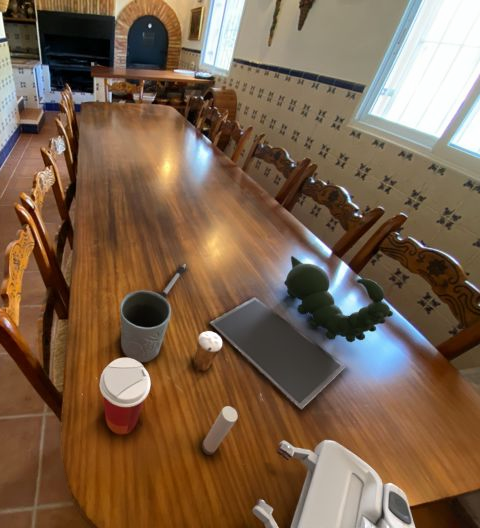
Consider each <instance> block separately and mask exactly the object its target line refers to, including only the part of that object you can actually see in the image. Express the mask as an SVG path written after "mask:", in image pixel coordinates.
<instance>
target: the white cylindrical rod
mask: <svg viewBox="0 0 480 528" xmlns="http://www.w3.org/2000/svg"><path fill="white" fill-rule="evenodd" d="M237 420H238V412H237V410H236V409H235V408H234V407H233V406H229V405H228V406H224V407H223V408H222V409H221V411H220V412H219V414H218V416H217V417H216V419H215V421H214V423H213V425H212V426H211V428H210V429H209V431H208V433H207V434H206V437H205V438H204V440H203V442H202V443H201V449H202V451H203V452H204V454H206V455H208V456H211V455H213V454H215V452H216V451H217V450H218V448H219V446H220V445H221V443H222V442H223V440H224V439H225V438H226V436H227V435H228V434H229V432H230V431H231V429H232V427H233V426H234V425H235V423H236V422H237Z"/></svg>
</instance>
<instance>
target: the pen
mask: <svg viewBox="0 0 480 528" xmlns="http://www.w3.org/2000/svg"><path fill="white" fill-rule="evenodd" d="M186 265H187V264H186V263H183V264H182V265H181V266H180V268H179V269H178V270H177V272H176V273H175V274H174V276H173V277H172V278H171V280H170V282H169V283H168V284H167V286H165V288H164V289H163V290H162V292H161V294H160V295H161V296H162V297H164V298H165V297H167V295H168V294H169V292H170V290H171V289H172V288H173V286H175V285H174V284H176V282H177V281H178V279H179V277H180V276H181V275H182V273H183V272H184V270H186V268H187V266H186Z"/></svg>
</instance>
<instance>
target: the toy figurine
mask: <svg viewBox="0 0 480 528" xmlns="http://www.w3.org/2000/svg"><path fill="white" fill-rule="evenodd" d="M290 262H291V270H289V272H288V273H287V276H286V278H285V280H284V282H283V284H284V285H285V286H286V289H287V290H286V293H287V295H288V296H289V297H290V298H294V299H295V298H296V299H298V300H299V301H301V304H299V305H298V306H297V308H296V309H297V312H298V313H299V314H300V315H307V314H310V315H311V317H312V320H310V321H309V324H308V325H309V327H310V328H312V329H315V330H316V329H318V328H319V327H320V328H321V329H326V331H325V333H324V336H325V338H326V339H327V340H329V341H332V340H335V339H336V337H337V336H340V337H342V338H345V340H346V342H348V343H353V342H355V341H356V340H358V341H364V339H366V335H365V333H366V332H368V331H369V332H372V333H373V332H375V331H377V326H376V325H379V324H380V325H382V324H385V323H386V318H390V317H392V316H394V312H393V311H392V310H391V308H390V306H389V305H388V304H387V303H386V302H384V301H383V300H384V299H385V291H384V289H383V288H382V286H381V285H380V284H379V283H378V282H376V281H374V280H372V279H369V278H358V279H357V280H356V283H357V284H360V285H363V287H364V288H365V290H366V292H367V296H368V298H369V299H370V300H371V302H370V303H369V304H368V305H365V306H363V307H361V308H360V309H359V310H358V311H355V312H352V313H351V314H350V315H345V314H344V313H343V312H342V310H341V309H340V307H339V306H337V305H336V304H335V298H334V296H333V295H332V294H331V293H330V292H329V289H330V285H331V284H330V277H329V275H328V274H327V272H326V271H325V270H324V269H323V268H321V267H320V266H319V265H316V264H313V263H303V262H302V261H300V260H299V259H298V258H297V257H295V256H293V255H291V256H290Z"/></svg>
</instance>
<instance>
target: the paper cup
mask: <svg viewBox="0 0 480 528" xmlns="http://www.w3.org/2000/svg"><path fill="white" fill-rule="evenodd" d="M98 386H99V390H100V393H101V395H102V397H103V407H104V414H105V421H106V425H107V427H108V428H109V430H110V431H112V432H113V433H115V434H116V435H117V434H118V435H126V434H129V433H130V432H132V430H134V429H135V427H136V425H137V422H138V420H139V417H140V414H141V411H142V408H143V405H144V401H145V399H146V398H147V397H148V395H149V393H150V390H151V378H150V375H149V372H148V370H147V369H146V368H145V367H144V365H143V364H142V362H138V361H136V360H134V359H131V358H129V357H119V358H116V359H114V360H113V361H111V362H110V363H109V364H108V365H107V366H105V367H104V369H103V370H102V373H101V375H100V380H99V384H98Z"/></svg>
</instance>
